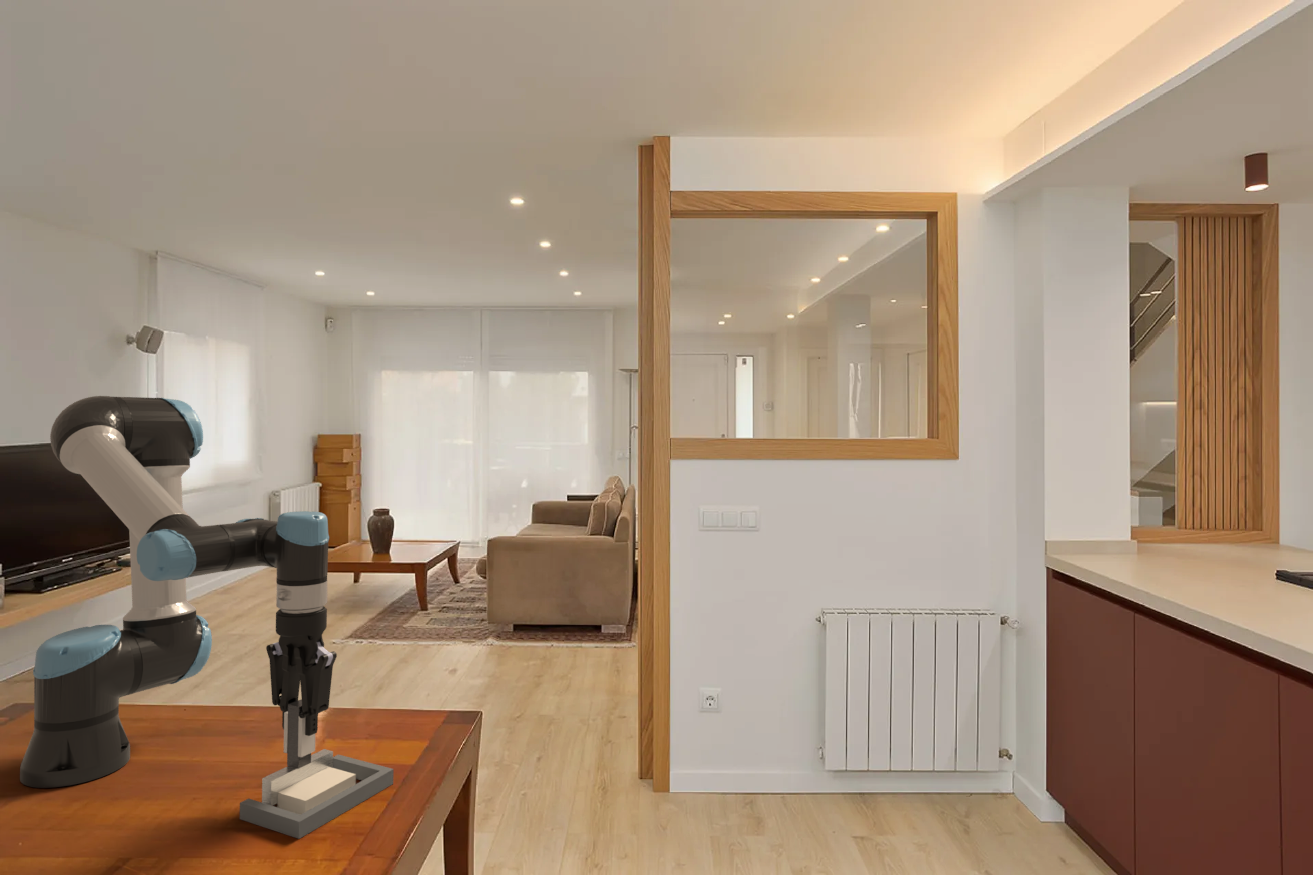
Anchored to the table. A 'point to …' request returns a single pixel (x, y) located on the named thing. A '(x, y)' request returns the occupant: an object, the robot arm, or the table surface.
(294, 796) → the cream tile
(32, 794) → the table surface
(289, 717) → the grey inverted t block
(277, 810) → the frame
